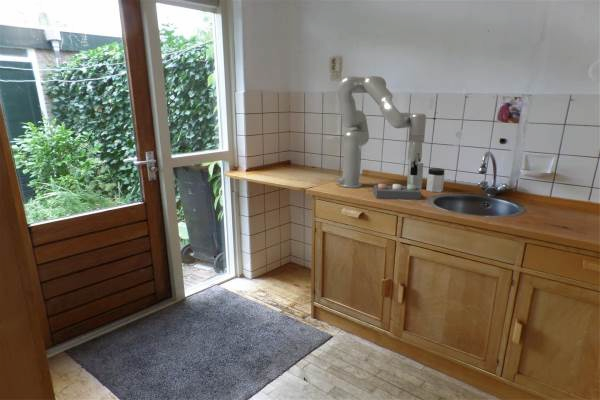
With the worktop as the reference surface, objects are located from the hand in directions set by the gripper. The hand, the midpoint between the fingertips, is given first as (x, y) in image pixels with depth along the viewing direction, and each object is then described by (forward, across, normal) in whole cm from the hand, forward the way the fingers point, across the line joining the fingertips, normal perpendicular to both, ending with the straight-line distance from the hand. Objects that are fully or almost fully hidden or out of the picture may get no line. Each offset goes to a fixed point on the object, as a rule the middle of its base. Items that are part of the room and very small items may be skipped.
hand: (413, 174), depth 200 cm
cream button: (+9, 0, -8) cm, 12 cm away
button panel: (+11, 0, -8) cm, 14 cm away
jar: (+12, -15, +16) cm, 25 cm away
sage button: (+9, 0, -1) cm, 9 cm away
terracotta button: (+9, 0, -16) cm, 18 cm away
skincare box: (+12, -21, +6) cm, 25 cm away
